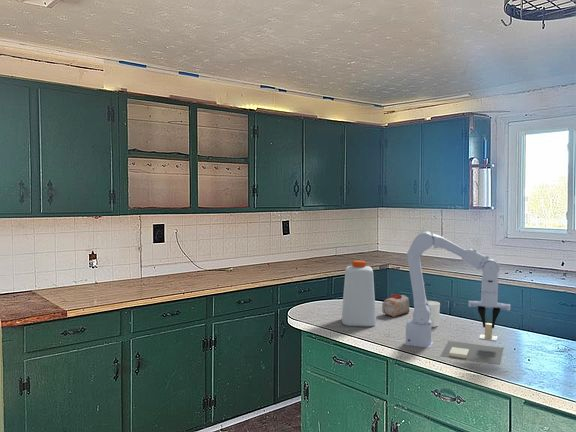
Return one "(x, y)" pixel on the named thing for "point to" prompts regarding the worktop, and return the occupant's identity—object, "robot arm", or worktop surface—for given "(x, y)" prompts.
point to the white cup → (434, 312)
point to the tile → (459, 352)
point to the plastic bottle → (359, 296)
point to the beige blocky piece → (488, 333)
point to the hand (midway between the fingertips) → (488, 327)
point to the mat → (476, 352)
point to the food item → (396, 305)
